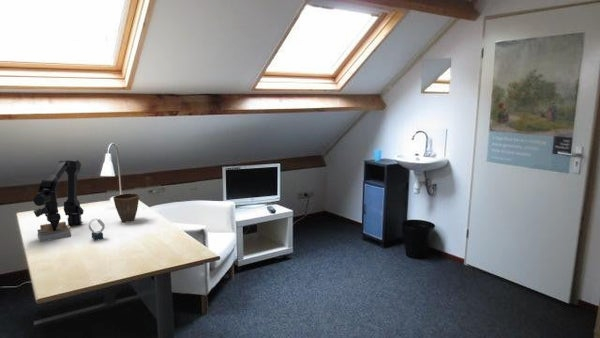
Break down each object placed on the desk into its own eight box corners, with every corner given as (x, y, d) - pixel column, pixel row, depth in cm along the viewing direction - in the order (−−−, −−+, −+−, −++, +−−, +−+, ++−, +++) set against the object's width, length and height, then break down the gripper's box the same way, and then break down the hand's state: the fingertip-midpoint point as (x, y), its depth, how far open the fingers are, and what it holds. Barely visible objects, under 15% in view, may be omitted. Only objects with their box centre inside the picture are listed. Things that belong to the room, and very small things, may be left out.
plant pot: (134, 224, 250) (132, 198, 247) (110, 224, 250) (108, 198, 248) (144, 217, 265) (142, 193, 262) (121, 217, 265) (119, 193, 262)
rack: (38, 234, 230) (37, 227, 229) (68, 229, 239) (67, 223, 238) (40, 241, 218) (39, 234, 217) (72, 236, 227) (71, 229, 226)
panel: (66, 231, 233) (65, 221, 232) (66, 232, 231) (65, 222, 230) (41, 235, 226) (40, 225, 225) (41, 236, 224) (40, 226, 223)
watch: (107, 237, 224) (105, 218, 222) (91, 241, 219) (89, 221, 217) (103, 235, 228) (102, 216, 226) (88, 238, 223) (86, 219, 221)
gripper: (32, 200, 228) (35, 227, 230) (35, 207, 213) (37, 235, 215) (55, 197, 234) (58, 223, 237) (59, 204, 220) (62, 231, 222)
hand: (53, 228), depth 228 cm, fingers open, 9 cm apart
